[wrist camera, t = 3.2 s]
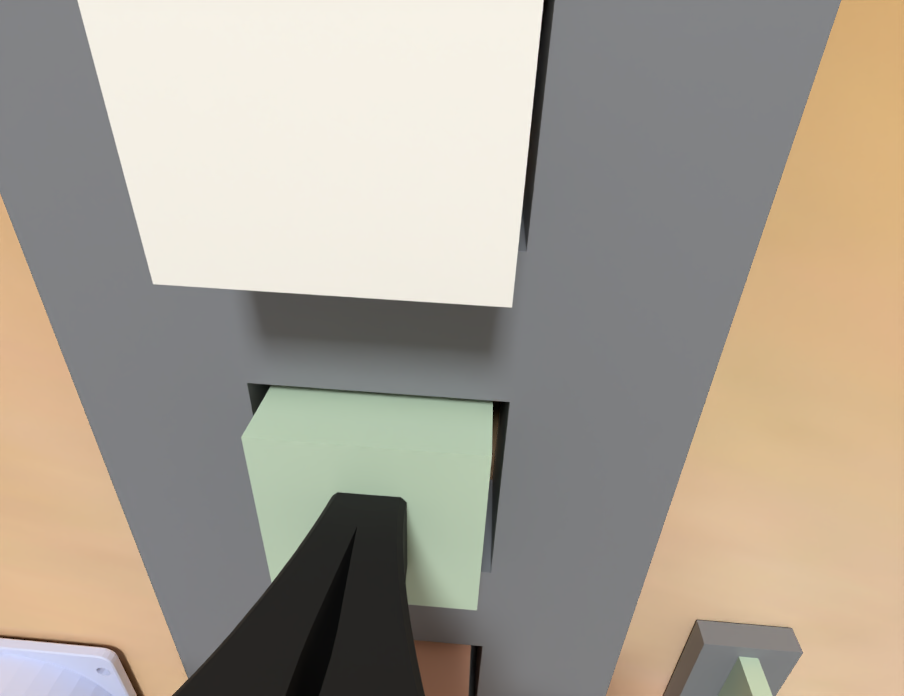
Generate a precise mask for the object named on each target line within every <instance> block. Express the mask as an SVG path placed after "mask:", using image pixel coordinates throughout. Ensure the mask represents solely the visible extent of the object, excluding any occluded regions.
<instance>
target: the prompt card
mask: <svg viewBox="0 0 904 696" xmlns="http://www.w3.org/2000/svg"><path fill="white" fill-rule="evenodd" d="M802 654H803V651H802V649H801V647H800V645H799V643H798V640H797V638H796V636H795V634H794V632H793V629H792V628H783V627H771V626H760V625H748V624H737V623H725V622H714V621H703V620H697V621H696V623H695V626H694V628H693V630H692V632H691V635H690V637H689V639H688V641H687V644H686V646H685V648H684V651H683V653H682V655H681V657H680V660H679V662H678V664H677V666H676V669H675V671H674V673H673V675H672V678H671V680H670V682H669V685H668V687H667V689H666V691H665V694H664V696H776V694H777V693H778V691H779V690H780V688H781V686H782V685H783V683H784V682H785V680H786V679H787V677H788V675H789V674H790V672H791V671H792V669H793V668H794V666H795V664H796V663H797V661H798V660H799V658H800V657H801V655H802Z"/></svg>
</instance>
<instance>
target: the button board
mask: <svg viewBox="0 0 904 696" xmlns="http://www.w3.org/2000/svg"><path fill="white" fill-rule="evenodd" d="M840 2H841V0H544V2H543V11H542V21H541V31H540V40H539V50H538V60H537V70H536V79H535V89H534V99H533V109H532V118H531V128H530V138H529V148H528V157H527V167H526V177H525V186H524V196H523V206H522V216H521V225H520V235H519V245H518V255H517V264H516V274H515V284H514V293H513V303H512V308H510V307H495V306H480V305H464V304H449V303H434V302H418V301H403V300H388V299H372V298H357V297H342V296H326V295H311V294H296V293H280V292H265V291H250V290H234V289H219V288H204V287H188V286H173V285H158V284H153V282H152V278H151V274H150V271H149V267H148V263H147V259H146V256H145V252H144V248H143V244H142V241H141V237H140V233H139V229H138V226H137V222H136V218H135V214H134V211H133V207H132V203H131V199H130V196H129V192H128V188H127V184H126V181H125V177H124V173H123V170H122V166H121V162H120V158H119V155H118V151H117V147H116V143H115V140H114V136H113V132H112V128H111V125H110V121H109V117H108V113H107V110H106V106H105V102H104V98H103V95H102V91H101V87H100V83H99V80H98V76H97V72H96V68H95V65H94V61H93V57H92V53H91V50H90V46H89V42H88V38H87V35H86V31H85V27H84V23H83V20H82V16H81V12H80V8H79V5H78V1H77V0H0V194H1V196H2V199H3V201H4V204H5V207H6V209H7V212H8V214H9V217H10V220H11V222H12V225H13V227H14V230H15V232H16V235H17V238H18V240H19V243H20V245H21V248H22V251H23V253H24V256H25V258H26V261H27V263H28V266H29V269H30V271H31V274H32V276H33V279H34V281H35V284H36V287H37V289H38V292H39V294H40V297H41V300H42V302H43V305H44V307H45V310H46V312H47V315H48V318H49V320H50V323H51V325H52V328H53V331H54V333H55V336H56V338H57V341H58V343H59V346H60V349H61V351H62V354H63V356H64V359H65V362H66V364H67V367H68V369H69V372H70V374H71V377H72V380H73V382H74V385H75V387H76V390H77V393H78V395H79V398H80V400H81V403H82V405H83V408H84V411H85V413H86V416H87V418H88V421H89V424H90V426H91V429H92V431H93V434H94V436H95V439H96V442H97V444H98V447H99V449H100V452H101V455H102V457H103V460H104V462H105V465H106V467H107V470H108V473H109V475H110V478H111V480H112V483H113V485H114V488H115V491H116V493H117V496H118V498H119V501H120V504H121V506H122V509H123V511H124V514H125V516H126V519H127V522H128V524H129V527H130V529H131V532H132V535H133V537H134V540H135V542H136V545H137V547H138V550H139V553H140V555H141V558H142V560H143V563H144V566H145V568H146V571H147V573H148V576H149V578H150V581H151V584H152V586H153V589H154V591H155V594H156V597H157V599H158V602H159V604H160V607H161V609H162V612H163V615H164V617H165V620H166V622H167V625H168V628H169V630H170V633H171V635H172V638H173V640H174V643H175V646H176V648H177V651H178V653H179V656H180V659H181V661H182V664H183V666H184V669H185V671H186V674H187V677H188V679H189V678H190V677H191V676H192V675H193V674H194V673H195V671H196V670H197V669H198V668H199V667H200V666H201V665H202V664H203V663H204V662H205V661H206V660H207V659H208V658H209V657H210V655H211V654H212V653H213V652H214V651H215V650H216V649H217V648H218V647H219V645H220V644H221V643H222V642H223V641H224V640H225V639H226V638H227V637H228V635H229V634H230V633H231V632H232V631H233V630H234V628H235V627H236V626H237V625H238V624H239V622H240V621H241V620H242V619H243V618H244V616H245V615H246V614H247V613H248V612H249V610H250V609H251V608H252V607H253V606H254V604H255V603H256V602H257V601H258V600H259V598H260V597H261V596H262V595H263V593H264V592H265V591H266V590H267V588H268V587H269V586H270V585H271V583H272V582H271V577H270V573H269V568H268V563H267V558H266V554H265V549H264V544H263V539H262V535H261V530H260V525H259V520H258V516H257V511H256V506H255V501H254V496H253V492H252V487H251V482H250V477H249V473H248V468H247V463H246V458H245V454H244V449H243V444H242V439H241V437H242V435H243V433H244V431H245V430H246V428H247V426H248V424H249V423H250V421H251V419H252V418H253V416H254V414H255V412H256V411H257V409H258V407H259V406H260V404H261V402H262V400H263V399H264V397H265V395H266V393H267V392H268V390H269V388H270V387H271V385H282V386H296V387H310V388H324V389H337V390H351V391H365V392H379V393H393V394H407V395H421V396H434V397H448V398H462V399H476V400H490V401H500V410H499V420H498V430H497V440H496V450H495V460H494V470H493V480H490V481H489V491H488V501H487V512H486V522H485V532H484V543H483V553H482V563H481V574H480V584H479V594H478V605H477V610H466V609H454V608H443V607H432V606H420V605H409V604H408V608H409V615H410V621H411V628H412V633H413V639H414V640H419V641H430V642H442V643H453V644H464V645H471V654H470V675H469V696H606V693H607V690H608V687H609V684H610V681H611V678H612V675H613V672H614V669H615V666H616V663H617V660H618V658H619V655H620V652H621V649H622V646H623V643H624V640H625V637H626V634H627V631H628V628H629V625H630V622H631V619H632V616H633V613H634V610H635V607H636V604H637V601H638V598H639V596H640V593H641V590H642V587H643V584H644V581H645V578H646V575H647V572H648V569H649V566H650V563H651V560H652V557H653V554H654V551H655V548H656V545H657V542H658V539H659V536H660V533H661V531H662V528H663V525H664V522H665V519H666V516H667V513H668V510H669V507H670V504H671V501H672V498H673V495H674V492H675V489H676V486H677V483H678V480H679V477H680V474H681V471H682V469H683V466H684V463H685V460H686V457H687V454H688V451H689V448H690V445H691V442H692V439H693V436H694V433H695V430H696V427H697V424H698V421H699V418H700V415H701V412H702V409H703V407H704V404H705V401H706V398H707V395H708V392H709V389H710V386H711V383H712V380H713V377H714V374H715V371H716V368H717V365H718V362H719V359H720V356H721V353H722V350H723V347H724V344H725V342H726V339H727V336H728V333H729V330H730V327H731V324H732V321H733V318H734V315H735V312H736V309H737V306H738V303H739V300H740V297H741V294H742V291H743V288H744V285H745V282H746V280H747V277H748V274H749V271H750V268H751V265H752V262H753V259H754V256H755V253H756V250H757V247H758V244H759V241H760V238H761V235H762V232H763V229H764V226H765V223H766V220H767V218H768V215H769V212H770V209H771V206H772V203H773V200H774V197H775V194H776V191H777V188H778V185H779V182H780V179H781V176H782V173H783V170H784V167H785V164H786V161H787V158H788V155H789V153H790V150H791V147H792V144H793V141H794V138H795V135H796V132H797V129H798V126H799V123H800V120H801V117H802V114H803V111H804V108H805V105H806V102H807V99H808V96H809V93H810V91H811V88H812V85H813V82H814V79H815V76H816V73H817V70H818V67H819V64H820V61H821V58H822V55H823V52H824V49H825V46H826V43H827V40H828V37H829V34H830V31H831V28H832V26H833V23H834V20H835V17H836V14H837V11H838V8H839V5H840Z"/></svg>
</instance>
